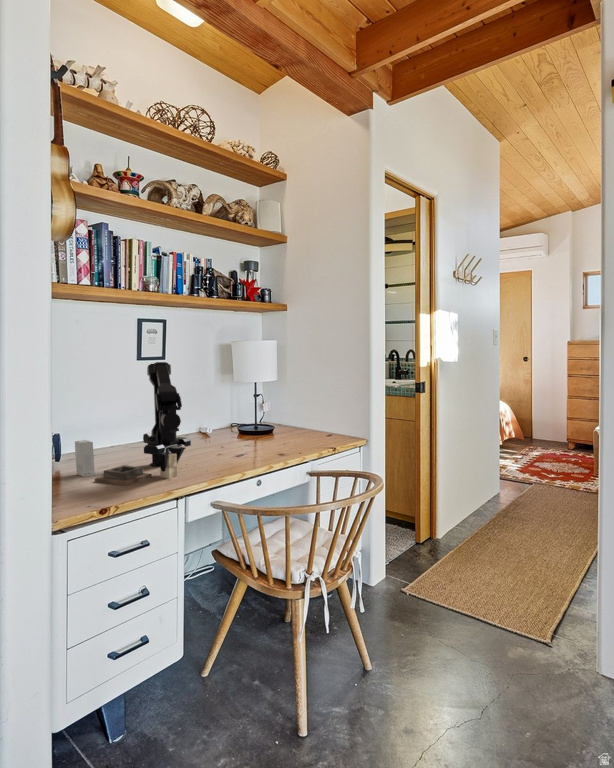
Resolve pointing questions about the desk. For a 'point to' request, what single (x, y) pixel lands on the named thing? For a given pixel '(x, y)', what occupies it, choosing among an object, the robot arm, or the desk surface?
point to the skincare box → (84, 458)
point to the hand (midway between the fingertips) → (168, 469)
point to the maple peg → (170, 467)
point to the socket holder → (123, 475)
